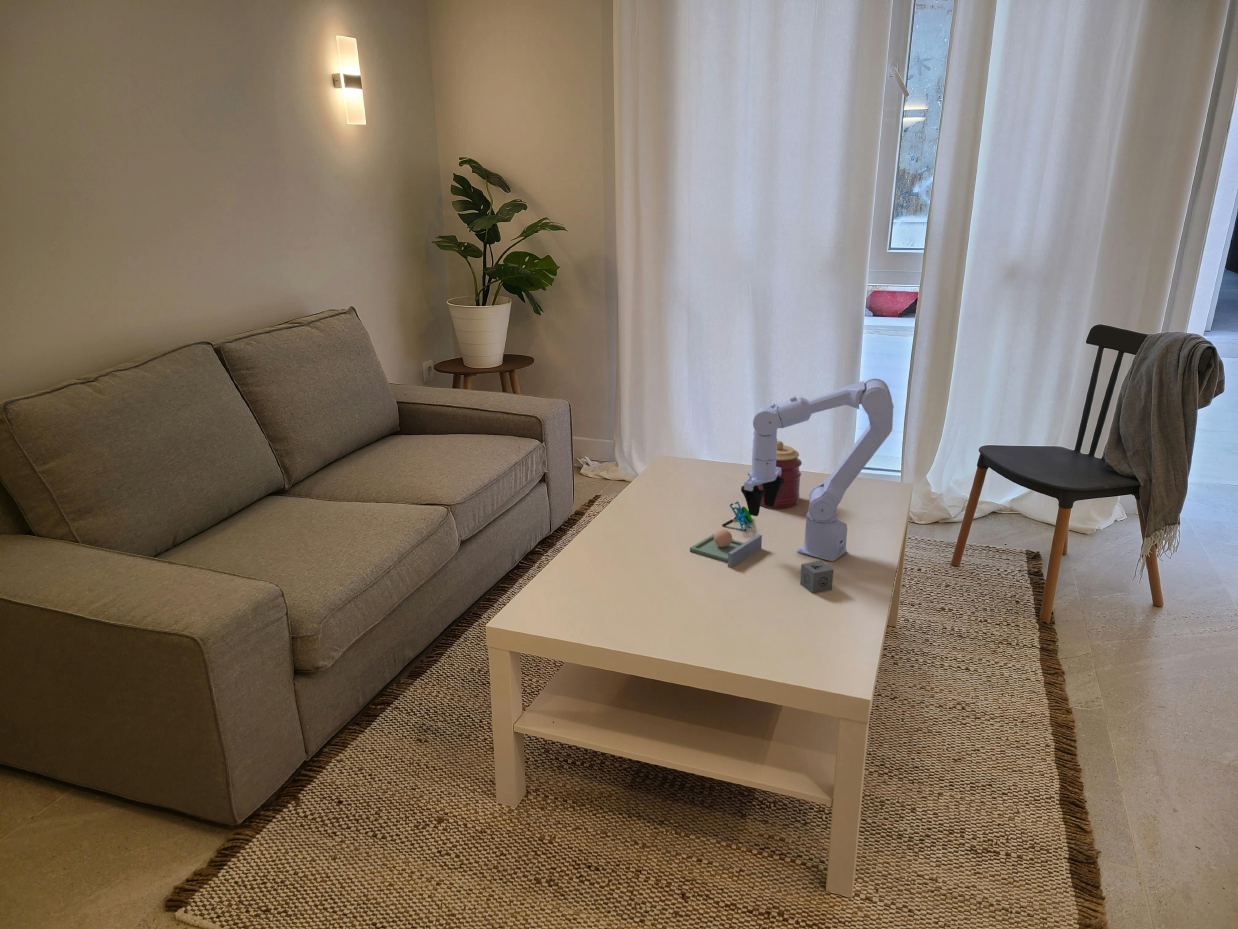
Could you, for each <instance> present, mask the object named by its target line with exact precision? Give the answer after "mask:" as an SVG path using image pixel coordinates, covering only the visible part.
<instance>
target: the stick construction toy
mask: <svg viewBox="0 0 1238 929" xmlns="http://www.w3.org/2000/svg"><path fill="white" fill-rule="evenodd" d="M734 504H735V505H737V506H738V507H737V506H735V507H733V505H734ZM734 504H733V503H730V504H729V507H730V508H731V510H732V512H733V514H734V516H733V517H732V518H731V519H729V520H728V521H725V523H723V524H721V525H722V527H723V526H725V527H726V526H729V525H731V524H733V523H736V522H738V523H739V526H740V527H741V529H742V532H743V531H744V532H746V531H747V528H744V526H747V525H748V528H749V529H748V530H750V528H751V529H752V528H753V527H752V525H751V522H752V521H753V518H752V515H749V511H748V508H747V507H745V506H741V505H740V503H739V501H736V502H734ZM743 525H744V526H743Z"/></svg>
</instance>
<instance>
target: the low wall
mask: <svg viewBox="0 0 1238 929" xmlns="http://www.w3.org/2000/svg"><path fill="white" fill-rule="evenodd" d="M762 541H763V535H762V534H759V533H758V534H757V535H754V536H753V537H751V538H750V539H748V540H746V541H745V542H743V544H742V545H740V546H738V547H737V548H735V549H734V550H732V551H730V552H729V553H728V563H727V567H728V568H733V567H734V566H736V565H738V564H739V563H741V562H742V561H744V560H745V559H747V558H749V557H750V556H753V554H754V553H755V554H756V552H758V551H759V550H761V549H762Z"/></svg>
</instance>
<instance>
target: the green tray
mask: <svg viewBox="0 0 1238 929" xmlns="http://www.w3.org/2000/svg"><path fill="white" fill-rule="evenodd" d="M714 535H715V533H712V534H711V535H709V536H708V537H706V538H704V539H702V540H701V541H699V542H697V543H696V544H693V545H692V546H690V547H689V552H690V553H691V552H692V553H693V554H694V553H695V554H697V555H700V556H704V557H706V558H711V559H714V560H717V561H721V562H724V563H727V564H728V553H729V552H730V551H732V550H734V549H735V548H737V547H738V546H740V545H742V544H743V543H744V542H743V541H739V540H736V539H734V538H732V542H731V544H730V545H729V546H727V547H724V548H722V547H719V546H717V545H716V544H715V542H714Z"/></svg>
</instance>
